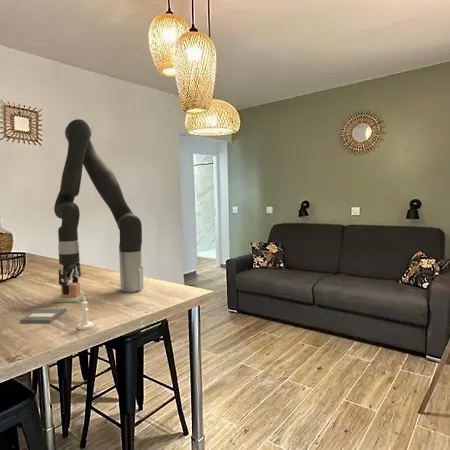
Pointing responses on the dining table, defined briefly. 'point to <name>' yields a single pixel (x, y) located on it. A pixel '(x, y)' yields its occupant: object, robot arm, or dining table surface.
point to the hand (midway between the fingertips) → (71, 291)
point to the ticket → (43, 315)
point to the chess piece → (84, 317)
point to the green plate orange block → (71, 294)
